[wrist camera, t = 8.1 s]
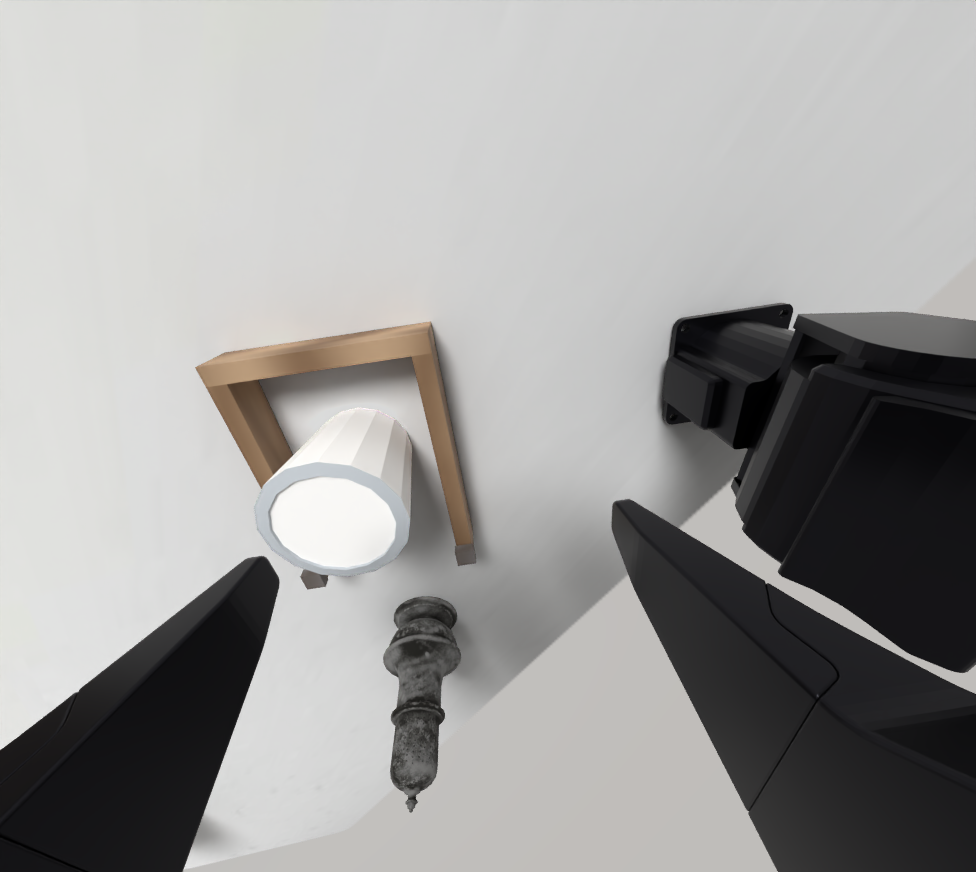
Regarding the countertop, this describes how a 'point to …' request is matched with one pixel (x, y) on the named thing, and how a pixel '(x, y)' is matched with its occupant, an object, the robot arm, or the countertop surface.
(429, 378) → the wooden stand
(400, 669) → the salt shaker
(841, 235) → the countertop surface
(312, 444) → the white tapered cup
